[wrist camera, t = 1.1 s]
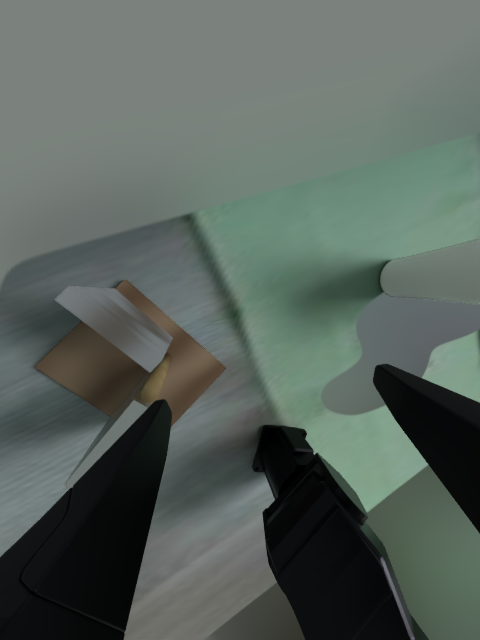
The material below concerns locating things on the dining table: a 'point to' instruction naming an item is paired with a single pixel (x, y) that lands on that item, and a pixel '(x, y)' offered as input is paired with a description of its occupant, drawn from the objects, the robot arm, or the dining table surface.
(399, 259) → the white tapered cylinder
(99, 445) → the swinging leaf
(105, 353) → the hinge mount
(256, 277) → the dining table surface
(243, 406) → the dining table surface
